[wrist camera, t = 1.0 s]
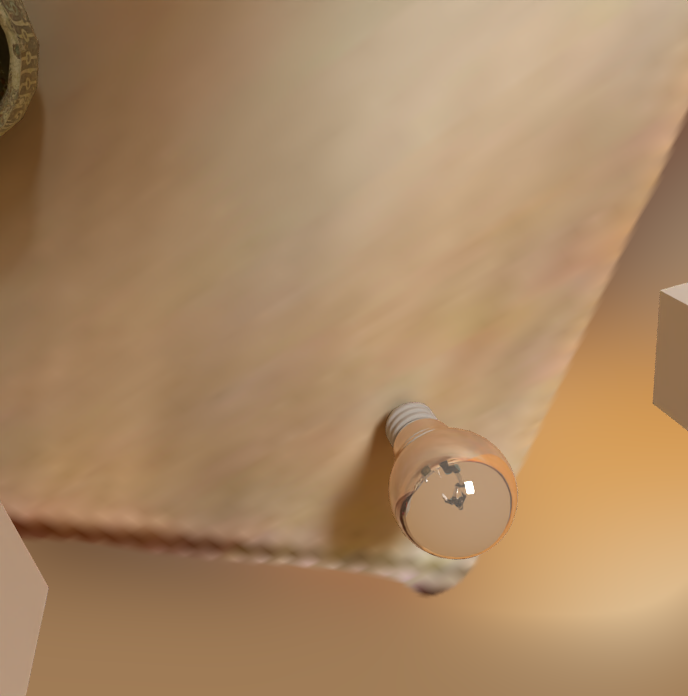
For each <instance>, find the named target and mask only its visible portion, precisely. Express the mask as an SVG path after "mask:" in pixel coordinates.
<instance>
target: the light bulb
mask: <svg viewBox="0 0 688 696" xmlns="http://www.w3.org/2000/svg"><path fill="white" fill-rule="evenodd" d="M385 431H386V436H387V438H388V440H389V442H390V444H391V445H392V447H393V455H394V460H395V462H394V464H393V467H392V470H391V474H390V478H389V483H388V485H389V503H390V507H391V511H392V514H393V517H394V519H395V521H396V523H397V524H398V526H399V528H400V529H401V531H402V532H403V534H404V535H405V536H406V537H407V538H408V539H409V540H410V541H411V542H412V543H413V544H414V545H416V546H417V547H418V548H420V549H422V550H423V551H425V552H427V553H429V554H431V555H434V556H437V557H440V558H447V559H455V560H457V559H467V558H472V557H475V556H477V555H480V554H482V553H484V552H486V551H488V550H489V549H491V548H492V547H494V546H495V545H496V544H497V543H498V542H499V541H500V540H501V539H502V538H503V537H504V536H505V535H506V533H507V532H508V530H509V529H510V527H511V525H512V522H513V519H514V516H515V513H516V510H517V502H518V491H517V483H516V480H515V476H514V473H513V471H512V468H511V466H510V464H509V463H508V461H507V459H506V458H505V456H504V455H503V454H502V452H501V451H500V450H499V449H498V448H497V447H496V446H495V445H494V444H493V443H491V442H490V441H489V440H487V439H486V438H484V437H482V436H480V435H478V434H476V433H474V432H472V431H469V430H464V429H459V428H449V427H448V426H447V425H445V424H444V423H442V422H441V421H438V419H437V418H436V417H435V415H434V414H433V413H432V411H431V409H430V408H429V407H428V406H426V405H425V404H423V403H419V402H410V403H405V404H402V405H400V406H398V407H397V408H395V409H394V410H393V411H392V412H391V414H390V415H389V417H388V419H387V422H386V428H385Z"/></svg>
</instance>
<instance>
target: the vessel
mask: <svg viewBox="0 0 688 696" xmlns="http://www.w3.org/2000/svg"><path fill="white" fill-rule="evenodd" d="M38 58H39V43H38V40H37V38H36V35H35V33H34V30H33V28H32V26H31V23H30V21H29V18H28V16H27V13H26V11H25V8H24V6H23V3H22V1H21V0H0V137H1V136H2V135H3V134H5V133H6V132H7V131H8V130H9V129H10V128H12V127H13V126H14V125H15V124H16V123H18V122H19V121H20V120H21V119H22V118H23V116H24V114H25V111H26V109H27V107H28V105H29V103H30V101H31V99H32V97H33V95H34V92H35V90H36V88H37V76H38Z"/></svg>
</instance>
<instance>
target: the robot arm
mask: <svg viewBox="0 0 688 696" xmlns="http://www.w3.org/2000/svg"><path fill="white" fill-rule="evenodd" d="M659 298H660V299H659V313H658V329H657V345H656V361H655V377H654V393H653V404H654V405H655V406H657V407H658V408H659V409H661V410H662V411H663V412H665V413H666V414H667V415H668V416H670V417H671V418H672V419H673V420H675V421H676V422H677V423H679V424H680V425H681V426H683V427H684V428H685V429H686V430H688V283H684V284H681V285H677V286H674V287H670V288H666V289H663V290H660V297H659ZM48 588H49V587H48V586H47V584H46V582H45V580H44V578H43V577H42V575H41V573H40V571H39V569H38V568H37V566H36V564H35V562H34V561H33V559H32V557H31V555H30V554H29V552H28V550H27V548H26V546H25V544H24V542H23V541H22V539H21V537H20V535H19V534H18V532H17V530H16V528H15V526H14V525H13V523H12V521H11V519H10V517H9V516H8V514H7V512H6V510H5V508H4V507H3V505H2V503H1V501H0V696H26V693H27V688H28V684H29V679H30V674H31V670H32V665H33V660H34V654H35V650H36V646H37V641H38V635H39V631H40V627H41V622H42V617H43V612H44V607H45V602H46V598H47V593H48Z"/></svg>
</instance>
